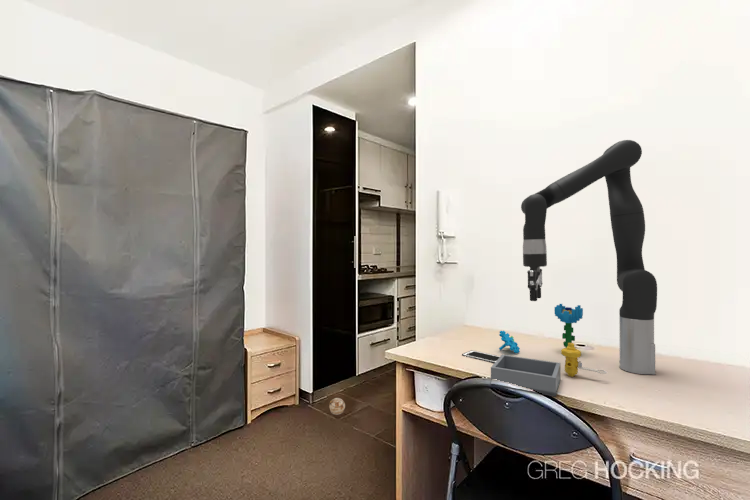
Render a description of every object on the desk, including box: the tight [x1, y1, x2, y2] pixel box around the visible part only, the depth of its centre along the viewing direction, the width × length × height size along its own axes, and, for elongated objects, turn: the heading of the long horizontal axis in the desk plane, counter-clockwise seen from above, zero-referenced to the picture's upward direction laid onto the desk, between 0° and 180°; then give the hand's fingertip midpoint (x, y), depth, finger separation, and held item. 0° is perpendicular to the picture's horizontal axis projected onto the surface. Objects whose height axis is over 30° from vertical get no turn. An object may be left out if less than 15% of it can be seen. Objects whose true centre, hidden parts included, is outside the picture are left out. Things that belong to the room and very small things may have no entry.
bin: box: [490, 354, 561, 398], centre depth 107 cm, size 17×15×5 cm
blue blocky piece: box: [498, 330, 521, 354], centre depth 140 cm, size 11×6×10 cm
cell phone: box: [461, 349, 501, 364], centre depth 131 cm, size 8×15×1 cm, turn 45°
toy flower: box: [554, 303, 584, 348], centre depth 138 cm, size 9×9×18 cm
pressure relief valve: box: [560, 342, 608, 378], centre depth 110 cm, size 6×12×10 cm, turn 51°
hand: (535, 299), depth 125 cm, fingers open, 8 cm apart
